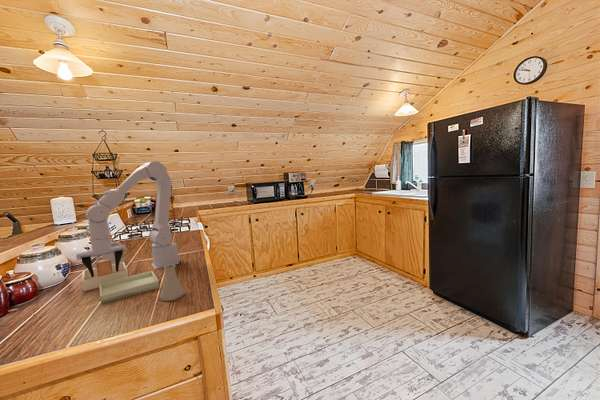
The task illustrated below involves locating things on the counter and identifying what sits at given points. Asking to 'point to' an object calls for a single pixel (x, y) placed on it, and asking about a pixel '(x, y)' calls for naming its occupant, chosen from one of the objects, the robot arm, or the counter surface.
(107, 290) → the tray
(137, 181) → the robot arm
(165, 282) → the flask
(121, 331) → the counter surface
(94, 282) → the box
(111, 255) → the cup
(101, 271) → the peg
